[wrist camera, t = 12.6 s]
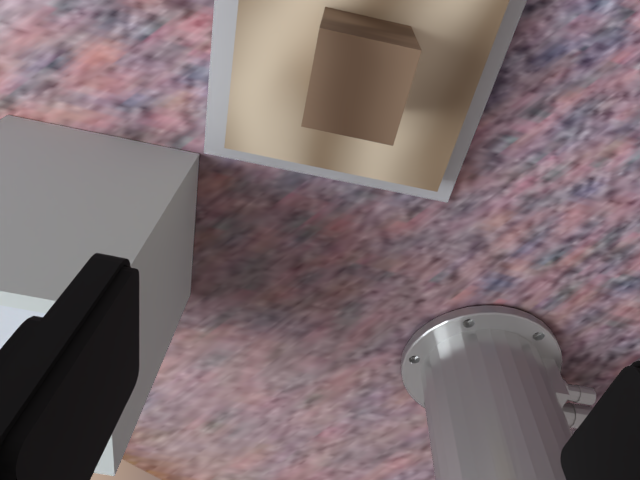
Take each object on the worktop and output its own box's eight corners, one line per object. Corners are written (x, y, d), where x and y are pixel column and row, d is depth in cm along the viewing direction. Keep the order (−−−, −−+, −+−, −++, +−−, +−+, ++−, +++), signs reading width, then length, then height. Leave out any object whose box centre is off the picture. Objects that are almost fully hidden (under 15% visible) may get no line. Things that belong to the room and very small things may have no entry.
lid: (518, -54, 25) (566, -41, 19) (433, 178, 32) (450, 237, 26) (256, -117, 24) (226, -122, 18) (230, 136, 31) (203, 188, 25)
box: (199, 153, 33) (103, 309, 20) (190, 294, 39) (114, 476, 27) (7, 114, 32) (-215, 251, 19) (32, 265, 39) (-121, 438, 26)
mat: (555, -84, 24) (559, -84, 24) (446, 198, 33) (447, 202, 33) (228, -163, 23) (225, -165, 23) (205, 149, 32) (203, 153, 32)
